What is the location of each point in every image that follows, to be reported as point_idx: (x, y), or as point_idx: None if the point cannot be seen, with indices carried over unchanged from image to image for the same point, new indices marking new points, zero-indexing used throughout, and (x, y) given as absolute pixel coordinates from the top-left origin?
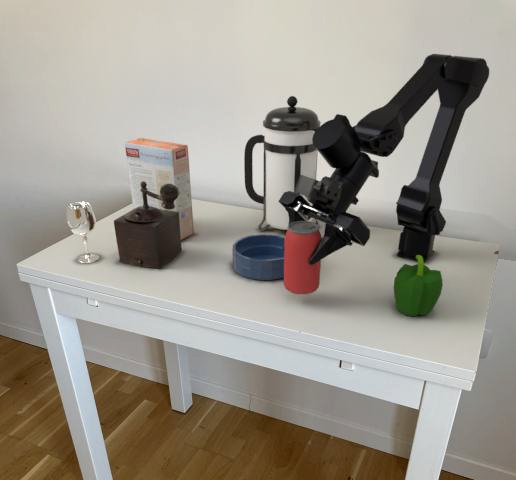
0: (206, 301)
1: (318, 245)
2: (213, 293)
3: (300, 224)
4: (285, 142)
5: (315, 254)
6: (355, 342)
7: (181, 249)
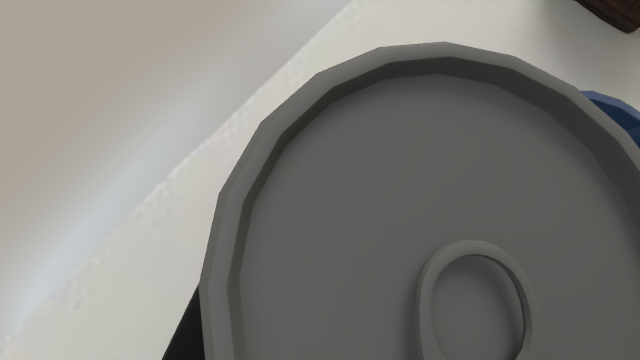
0: (376, 20)
1: (201, 355)
2: (410, 44)
3: (606, 273)
4: None
5: (196, 291)
6: (45, 309)
7: (633, 28)
